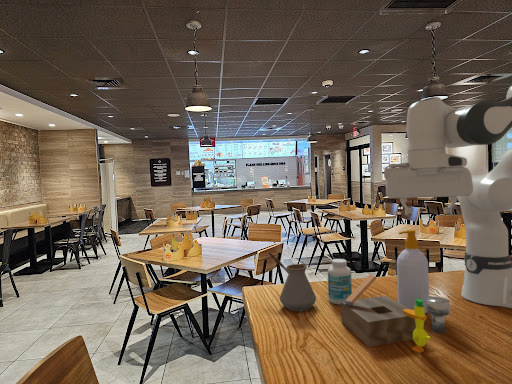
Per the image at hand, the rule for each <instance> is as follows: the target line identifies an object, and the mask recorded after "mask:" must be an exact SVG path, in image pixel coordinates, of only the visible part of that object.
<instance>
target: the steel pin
mask: <svg viewBox="0 0 512 384" xmlns="http://www.w3.org/2000/svg"><path fill="white" fill-rule="evenodd" d="M426 302H427V313H428V314H430V315H431V331H432V332H433V333H435V334H444V333H446V318H445V317H446V316H449V315H450V311H451V310H450V300H449V299H447V298H444V297H442V296H441V297H440V296H429V297H428V298H427V299H426Z"/></svg>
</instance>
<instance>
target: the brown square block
mask: <svg viewBox="0 0 512 384" xmlns="http://www.w3.org/2000/svg"><path fill="white" fill-rule="evenodd" d="M340 306H341V307H340V308H341V310H340V311H341V324H342V325H343V326H344V327H346V328H347V329H348V330H349V331H351V332H352V333H353V334H354V335H355V336H356V337H357V338H358V339H359V340H361V341H362V342H363V343H364V344H365V345H366V346H368V347H375V346H383V345H388V344H392V343H393V344H394V343H400V342H406V341H413V331H414V330H415V329H416V323H415V319H414V318H411V317H409V316H406V315H405V313H404V312H403V310H404V309H409V308H407V307H405V306H404V305H402V304H400V303H398V301H397V300H395V299H393V298H391V297H389V296H388V295H382V296H381V295H380V296H374V297H366V298H358V299H357V300H356V301H355V302H354V303H353V306H351V307H350V306H349V305H347V304H346V303H345V302H341V305H340Z"/></svg>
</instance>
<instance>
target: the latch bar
mask: <svg viewBox="0 0 512 384" xmlns="http://www.w3.org/2000/svg"><path fill="white" fill-rule="evenodd" d="M376 280H377V277H376V276H375V275H373V274H371V273H369V274H368V276H367V277H365V279H364V280H363V281H362V282H361V283H360V284H359V285H358V286H357V287H356V288H355V290H353V291H352V294H351V295H350V296H349V297H348V298H347V299H345V300H344V302H345V303H346V304H347V305H349V306H350V307H351V306H353V303H354V302H355V301H356V300H358V299H360V297H361V296H362V295H363V294H364V293H365V292H366V290H368V288H369V287H370V286H372V284H373V283H374V282H375V281H376Z"/></svg>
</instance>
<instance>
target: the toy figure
mask: <svg viewBox="0 0 512 384" xmlns="http://www.w3.org/2000/svg"><path fill="white" fill-rule="evenodd" d="M414 305H415V306H414V310H411V309H404V310H403V312H404V313H405V315H406V316H409V317H411V318H414V319H415V323H416V329H415V330H414V331H413V339H412V341H414V343H415V346H412V347H411V349H412V351H414V352H416V353H419V354H420V353H423V352H424V351H425V349H424V348H423V347H424V346H425V345H426V344H427V342H428V341H429V340H430V339H431V336H429V335H428V333H427V331H426V330H425V329H424V325H425V321H427V318H428V317H427V316H426V314H425V313H424V304H423V300H421V299H416V303H414Z"/></svg>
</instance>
